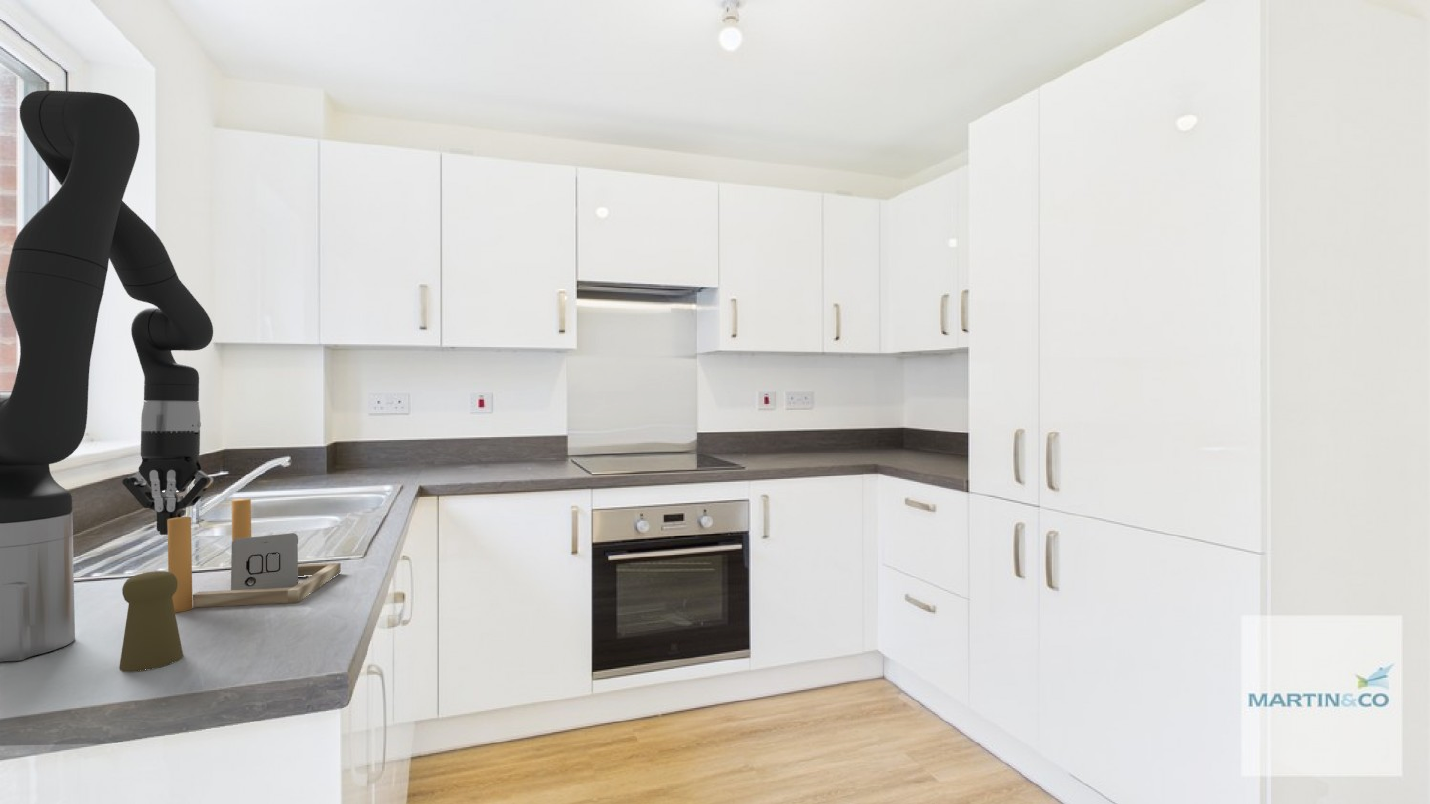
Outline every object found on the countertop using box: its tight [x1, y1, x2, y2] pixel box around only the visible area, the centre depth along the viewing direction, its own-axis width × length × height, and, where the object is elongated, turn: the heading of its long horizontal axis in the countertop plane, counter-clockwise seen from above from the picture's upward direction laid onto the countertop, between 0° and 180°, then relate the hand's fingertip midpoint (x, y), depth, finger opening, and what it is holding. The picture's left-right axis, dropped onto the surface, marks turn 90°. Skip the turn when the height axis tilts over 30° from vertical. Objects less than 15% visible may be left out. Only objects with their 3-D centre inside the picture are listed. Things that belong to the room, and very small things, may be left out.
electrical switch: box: [230, 532, 299, 590], centre depth 112 cm, size 9×5×9 cm, turn 120°
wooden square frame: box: [192, 562, 342, 608], centre depth 112 cm, size 16×15×2 cm
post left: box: [167, 516, 194, 614], centre depth 101 cm, size 3×3×14 cm
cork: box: [118, 570, 184, 673], centre depth 82 cm, size 6×6×11 cm
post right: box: [231, 498, 252, 543], centre depth 118 cm, size 3×3×14 cm
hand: (169, 534), depth 109 cm, fingers closed
